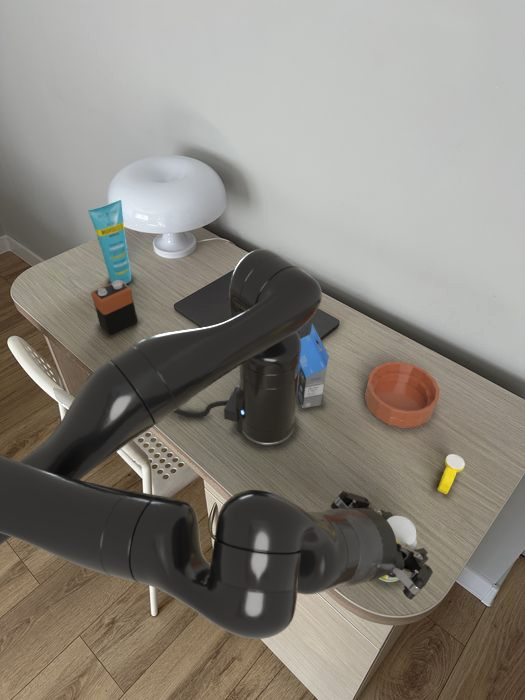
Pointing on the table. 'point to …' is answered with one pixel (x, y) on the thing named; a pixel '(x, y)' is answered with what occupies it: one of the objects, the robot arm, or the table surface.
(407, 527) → the supplement bottle
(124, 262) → the tube
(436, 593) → the table surface
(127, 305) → the battery
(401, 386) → the bowl
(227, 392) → the table surface
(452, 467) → the yellow flashlight
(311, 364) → the blue grey carton
